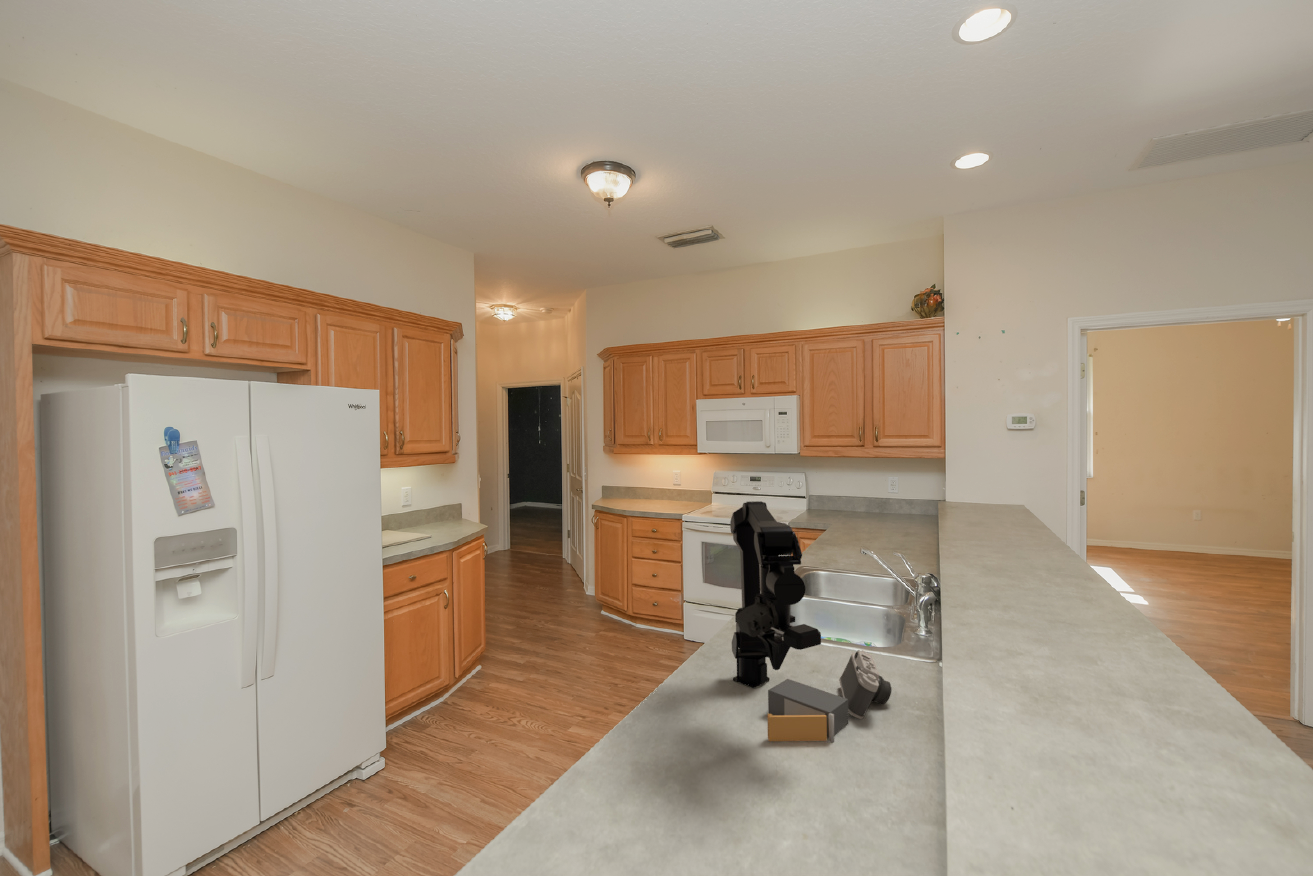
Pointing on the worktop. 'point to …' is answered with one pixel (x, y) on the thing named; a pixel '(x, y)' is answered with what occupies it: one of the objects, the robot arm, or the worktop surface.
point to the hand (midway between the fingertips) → (776, 669)
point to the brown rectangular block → (797, 727)
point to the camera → (863, 684)
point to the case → (808, 704)
